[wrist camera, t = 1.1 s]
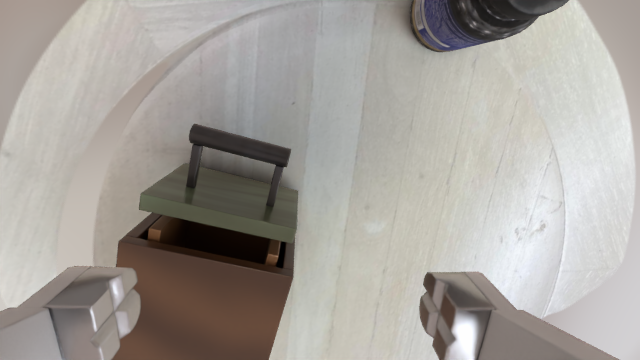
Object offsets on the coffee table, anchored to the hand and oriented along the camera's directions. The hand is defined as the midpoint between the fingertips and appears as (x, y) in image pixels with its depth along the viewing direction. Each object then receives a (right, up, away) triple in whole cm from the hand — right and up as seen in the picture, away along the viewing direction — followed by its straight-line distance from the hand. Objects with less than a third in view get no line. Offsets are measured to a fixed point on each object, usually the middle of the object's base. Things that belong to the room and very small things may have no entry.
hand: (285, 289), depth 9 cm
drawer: (-7, 0, +20) cm, 21 cm away
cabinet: (-9, -6, +23) cm, 25 cm away
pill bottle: (+11, +17, +17) cm, 26 cm away
